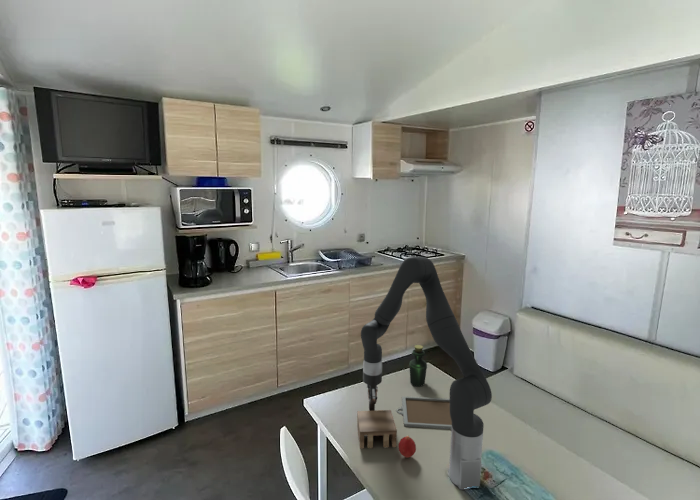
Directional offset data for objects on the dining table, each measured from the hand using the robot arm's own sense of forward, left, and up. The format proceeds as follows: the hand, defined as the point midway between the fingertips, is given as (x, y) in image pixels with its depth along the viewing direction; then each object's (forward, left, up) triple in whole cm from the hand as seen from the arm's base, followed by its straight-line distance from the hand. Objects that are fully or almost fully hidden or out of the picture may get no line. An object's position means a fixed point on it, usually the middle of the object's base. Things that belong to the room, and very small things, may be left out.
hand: (371, 409), depth 148 cm
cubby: (-14, 0, -1) cm, 14 cm away
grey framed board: (-2, -25, -2) cm, 25 cm away
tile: (-8, -1, -2) cm, 8 cm away
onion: (-25, -9, -2) cm, 27 cm away
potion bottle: (+22, -24, -2) cm, 32 cm away
